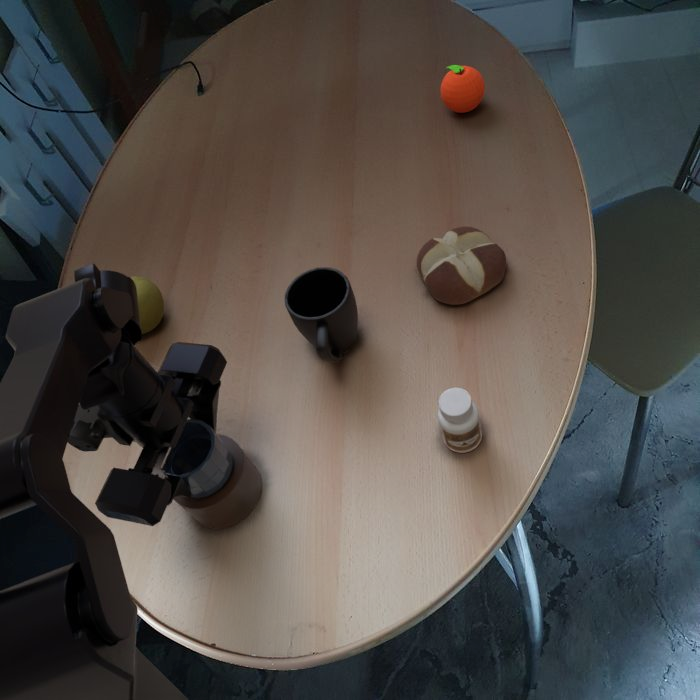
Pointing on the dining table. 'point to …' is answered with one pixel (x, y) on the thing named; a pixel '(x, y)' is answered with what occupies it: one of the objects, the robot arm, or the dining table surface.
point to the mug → (324, 311)
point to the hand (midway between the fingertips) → (199, 464)
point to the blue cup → (200, 459)
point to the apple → (148, 303)
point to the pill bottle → (459, 420)
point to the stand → (228, 493)
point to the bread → (461, 265)
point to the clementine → (462, 88)
